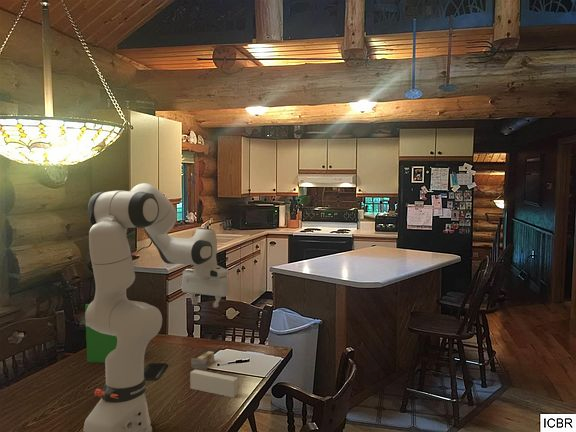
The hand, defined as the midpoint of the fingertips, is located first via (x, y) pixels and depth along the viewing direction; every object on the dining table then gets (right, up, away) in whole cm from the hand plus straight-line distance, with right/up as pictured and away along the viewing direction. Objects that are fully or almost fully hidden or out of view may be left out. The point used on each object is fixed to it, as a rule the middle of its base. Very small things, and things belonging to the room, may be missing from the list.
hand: (205, 305), depth 188 cm
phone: (-21, -27, +2) cm, 34 cm away
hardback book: (-42, -25, +16) cm, 51 cm away
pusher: (-2, -26, +10) cm, 28 cm away
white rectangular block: (+7, -27, -12) cm, 31 cm away
